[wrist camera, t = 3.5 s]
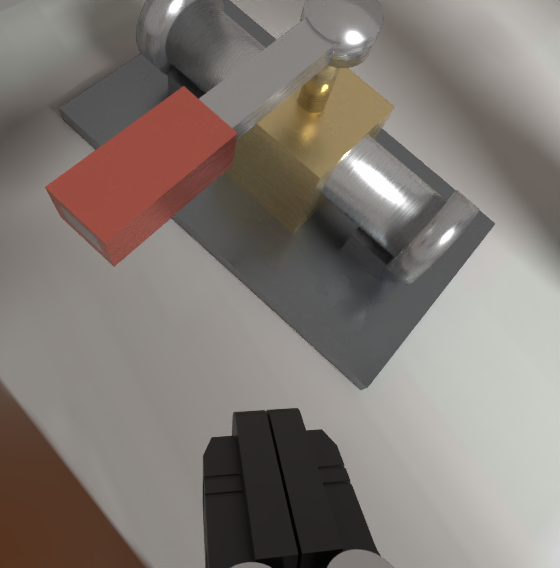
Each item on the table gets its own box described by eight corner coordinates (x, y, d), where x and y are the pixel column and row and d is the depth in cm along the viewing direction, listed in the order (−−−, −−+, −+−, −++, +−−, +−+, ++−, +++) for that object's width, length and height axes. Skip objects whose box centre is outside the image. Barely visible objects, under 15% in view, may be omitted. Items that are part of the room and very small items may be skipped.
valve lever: (328, 2, 24) (341, -40, 22) (382, 47, 24) (401, 9, 22) (53, 210, 18) (36, 179, 16) (121, 274, 18) (113, 250, 16)
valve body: (485, 230, 37) (620, 130, 25) (361, 389, 31) (462, 353, 20) (224, 10, 39) (239, -172, 28) (63, 119, 33) (0, -53, 22)
